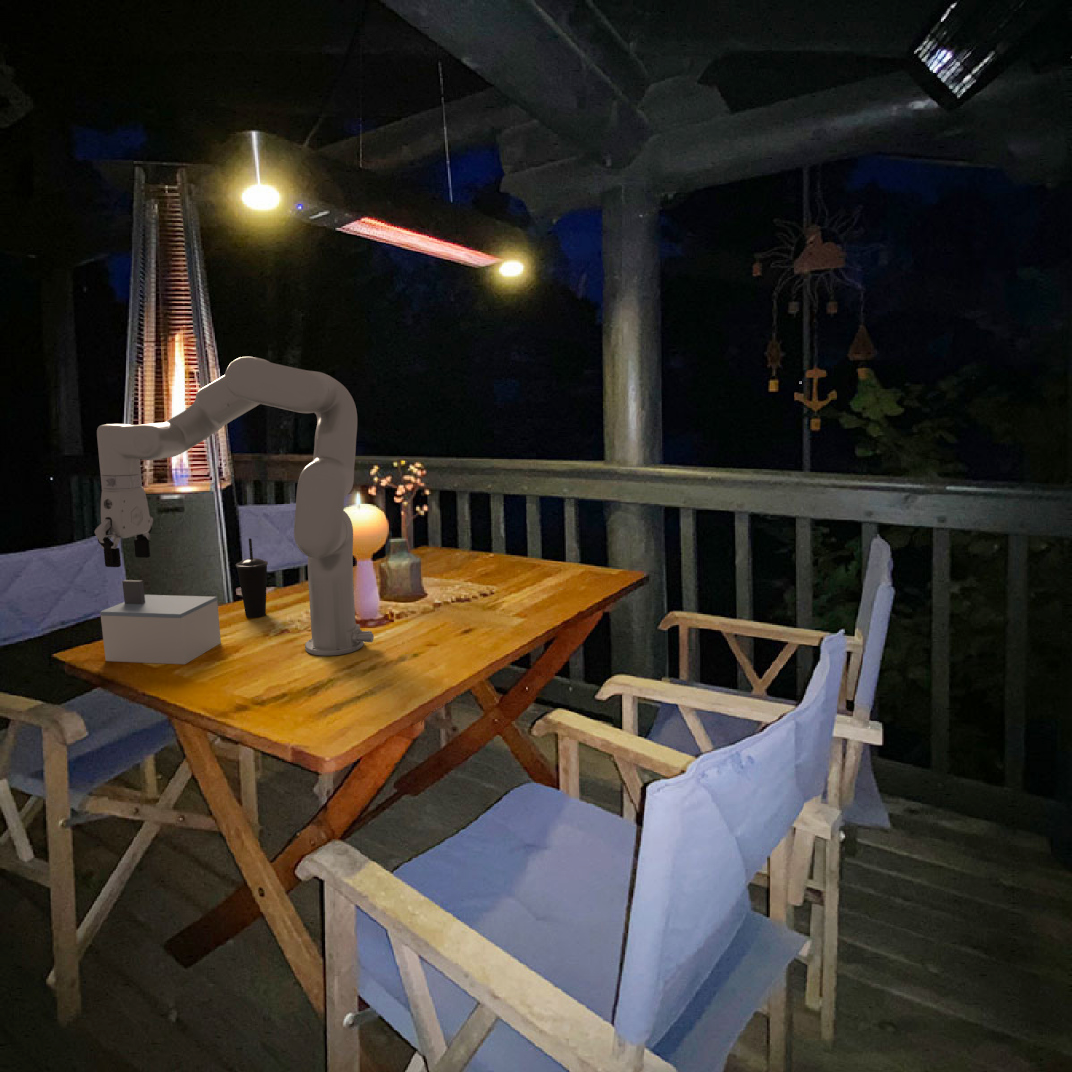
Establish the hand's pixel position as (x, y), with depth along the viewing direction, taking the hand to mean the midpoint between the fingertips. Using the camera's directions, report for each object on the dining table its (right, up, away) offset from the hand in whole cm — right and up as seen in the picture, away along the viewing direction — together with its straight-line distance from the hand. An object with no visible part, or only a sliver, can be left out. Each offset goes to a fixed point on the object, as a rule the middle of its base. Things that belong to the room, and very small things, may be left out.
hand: (128, 561), depth 162 cm
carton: (+7, -20, +3) cm, 21 cm away
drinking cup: (+16, -15, +30) cm, 38 cm away
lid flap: (+6, -10, +1) cm, 12 cm away
